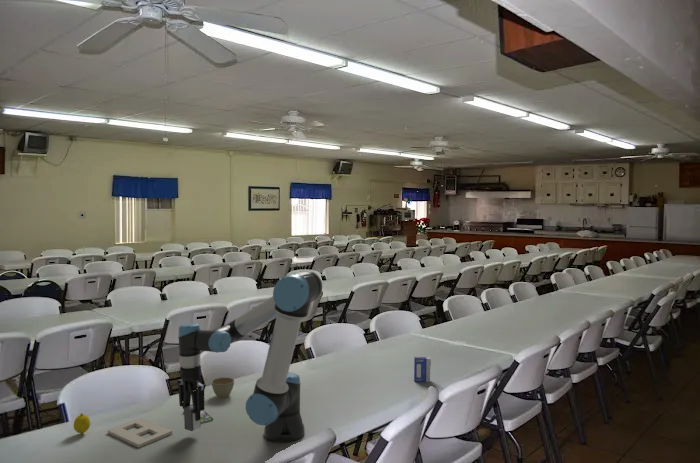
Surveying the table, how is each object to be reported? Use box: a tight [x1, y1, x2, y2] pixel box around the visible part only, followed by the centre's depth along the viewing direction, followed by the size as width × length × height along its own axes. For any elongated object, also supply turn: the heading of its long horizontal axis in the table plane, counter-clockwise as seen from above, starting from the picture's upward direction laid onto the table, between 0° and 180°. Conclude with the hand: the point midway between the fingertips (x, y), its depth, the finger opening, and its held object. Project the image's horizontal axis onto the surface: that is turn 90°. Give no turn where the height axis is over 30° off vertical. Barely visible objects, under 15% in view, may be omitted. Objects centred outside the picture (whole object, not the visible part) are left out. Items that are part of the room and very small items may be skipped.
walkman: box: [413, 356, 432, 383], centre depth 257 cm, size 8×3×12 cm, turn 86°
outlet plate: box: [107, 417, 173, 448], centre depth 197 cm, size 20×14×1 cm
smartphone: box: [183, 409, 214, 425], centre depth 213 cm, size 7×1×15 cm
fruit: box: [73, 412, 91, 435], centre depth 196 cm, size 6×6×8 cm
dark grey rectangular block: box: [183, 403, 194, 432], centre depth 194 cm, size 4×4×8 cm
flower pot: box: [210, 376, 235, 399], centre depth 235 cm, size 10×10×7 cm
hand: (192, 427), depth 195 cm, fingers closed on dark grey rectangular block, 4 cm apart
